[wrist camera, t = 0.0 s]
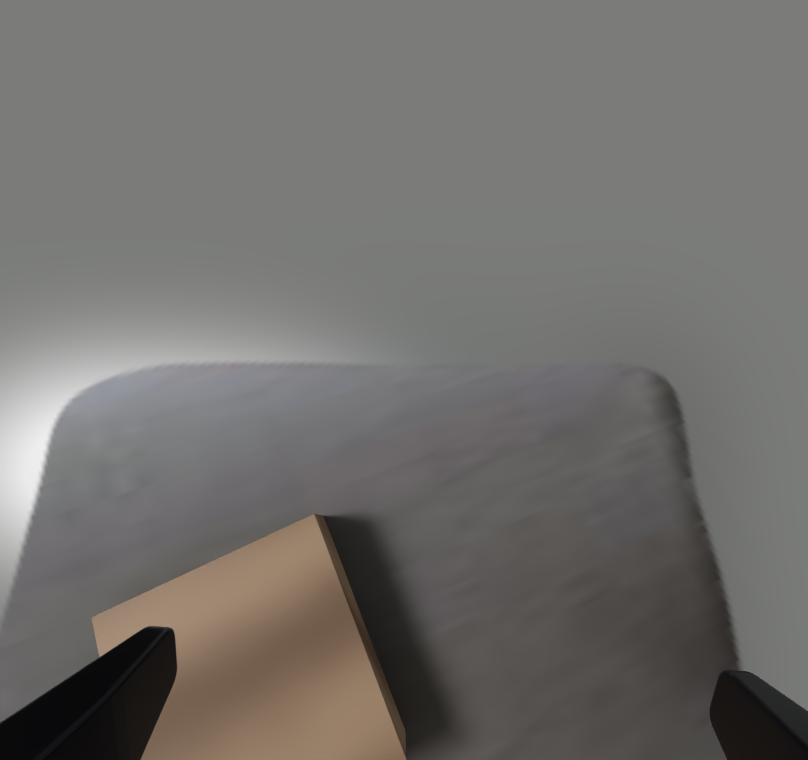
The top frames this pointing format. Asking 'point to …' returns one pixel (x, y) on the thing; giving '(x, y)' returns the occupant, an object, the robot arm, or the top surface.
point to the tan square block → (266, 657)
